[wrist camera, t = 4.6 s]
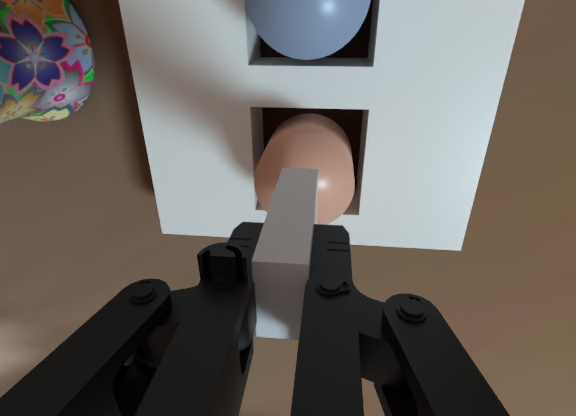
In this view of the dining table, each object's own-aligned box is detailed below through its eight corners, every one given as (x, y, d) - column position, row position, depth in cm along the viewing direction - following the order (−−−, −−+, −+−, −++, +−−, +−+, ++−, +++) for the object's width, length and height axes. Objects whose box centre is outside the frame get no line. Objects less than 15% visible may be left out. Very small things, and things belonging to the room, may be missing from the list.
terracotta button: (268, 191, 23) (256, 226, 19) (266, 112, 21) (251, 134, 17) (348, 194, 22) (350, 231, 19) (354, 114, 20) (358, 138, 17)
